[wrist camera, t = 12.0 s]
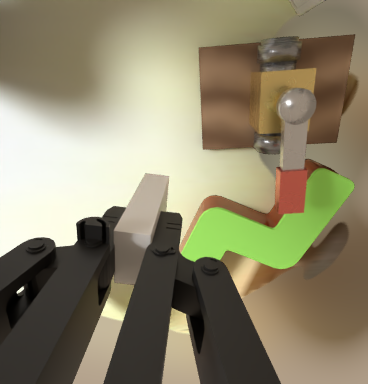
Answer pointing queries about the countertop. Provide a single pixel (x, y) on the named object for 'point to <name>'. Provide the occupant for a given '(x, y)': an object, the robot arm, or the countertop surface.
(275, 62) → the valve
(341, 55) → the board
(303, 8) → the supplement box
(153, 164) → the countertop surface
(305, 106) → the lever
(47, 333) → the robot arm
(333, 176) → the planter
